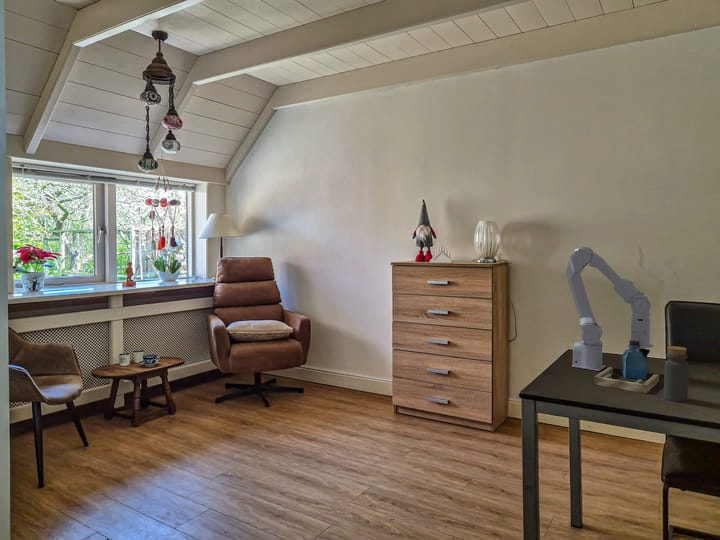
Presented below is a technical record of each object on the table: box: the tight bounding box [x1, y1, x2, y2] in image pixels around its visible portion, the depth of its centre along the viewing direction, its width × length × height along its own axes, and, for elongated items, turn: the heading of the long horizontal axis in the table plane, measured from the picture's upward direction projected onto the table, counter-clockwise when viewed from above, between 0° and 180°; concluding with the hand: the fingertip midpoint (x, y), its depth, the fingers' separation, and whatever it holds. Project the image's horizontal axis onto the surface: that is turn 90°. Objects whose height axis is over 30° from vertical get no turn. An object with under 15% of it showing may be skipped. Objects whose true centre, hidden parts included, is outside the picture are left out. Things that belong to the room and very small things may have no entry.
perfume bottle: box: [620, 339, 647, 380], centre depth 168 cm, size 6×6×12 cm
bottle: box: [663, 345, 690, 403], centre depth 143 cm, size 6×6×15 cm
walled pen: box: [593, 366, 660, 394], centre depth 160 cm, size 15×17×2 cm
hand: (639, 369), depth 172 cm, fingers closed
